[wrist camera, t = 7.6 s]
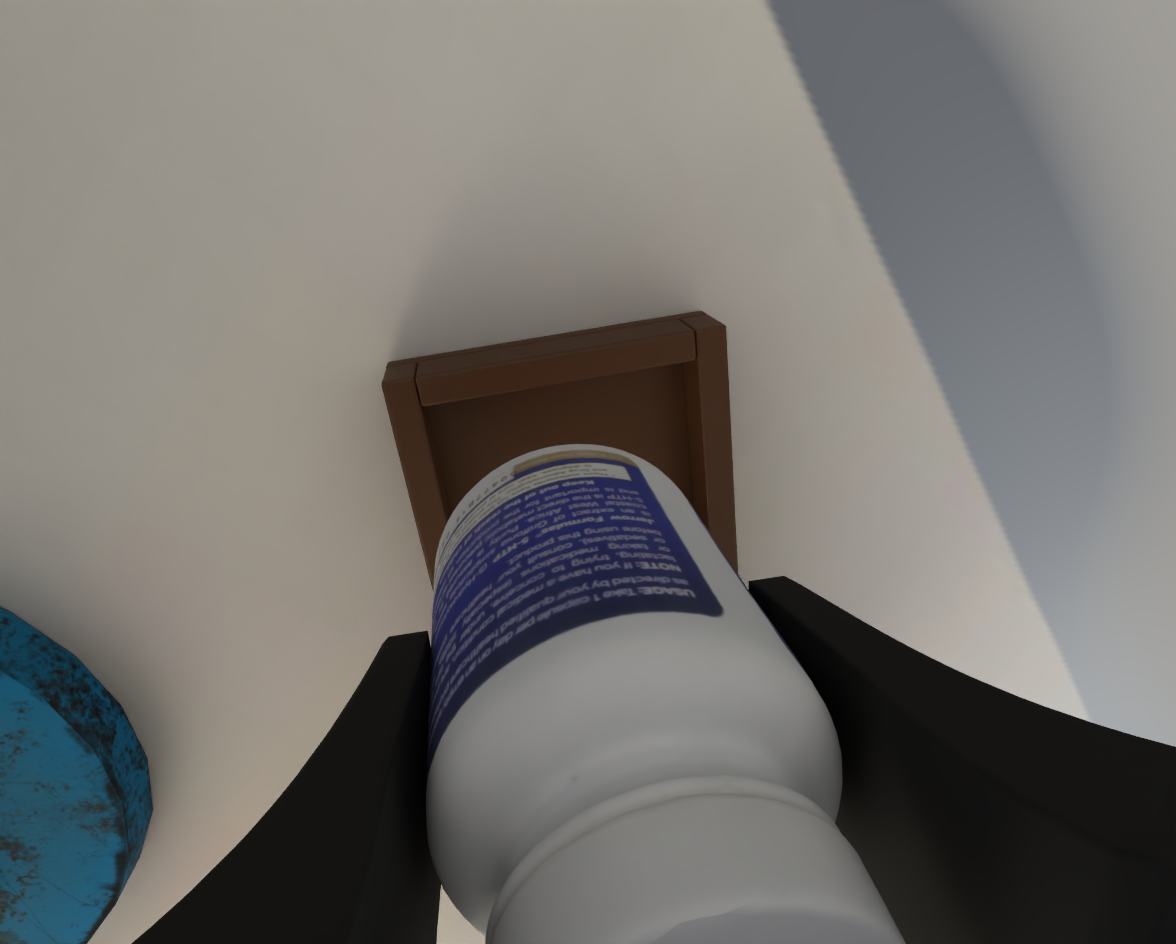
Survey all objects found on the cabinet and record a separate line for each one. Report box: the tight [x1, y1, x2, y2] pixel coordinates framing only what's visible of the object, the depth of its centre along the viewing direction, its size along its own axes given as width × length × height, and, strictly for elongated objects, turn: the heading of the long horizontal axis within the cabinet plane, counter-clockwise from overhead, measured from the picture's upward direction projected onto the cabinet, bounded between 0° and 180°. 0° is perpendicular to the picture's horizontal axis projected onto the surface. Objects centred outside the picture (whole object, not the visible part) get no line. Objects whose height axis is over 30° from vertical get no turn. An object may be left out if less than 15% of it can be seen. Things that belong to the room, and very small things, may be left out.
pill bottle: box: [426, 444, 906, 944], centre depth 11 cm, size 5×5×9 cm
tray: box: [381, 311, 738, 591], centre depth 24 cm, size 9×24×2 cm, turn 7°
